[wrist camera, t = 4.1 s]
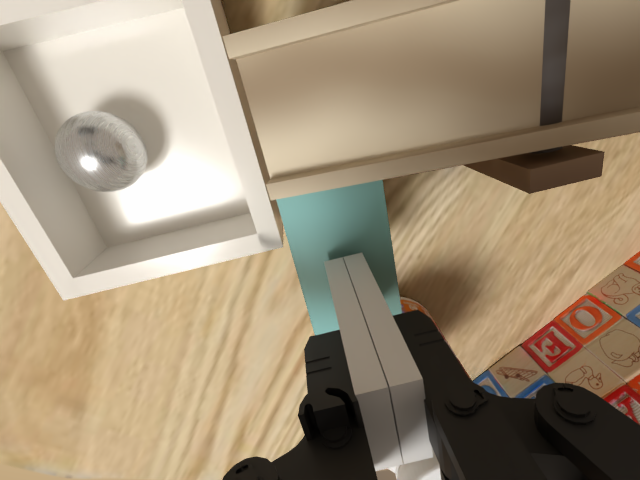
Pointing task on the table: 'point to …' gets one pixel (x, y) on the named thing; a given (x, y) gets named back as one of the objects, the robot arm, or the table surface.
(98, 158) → the ball
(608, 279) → the stack of blocks
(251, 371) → the table surface
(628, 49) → the lever
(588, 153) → the fulcrum
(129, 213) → the white square tray
